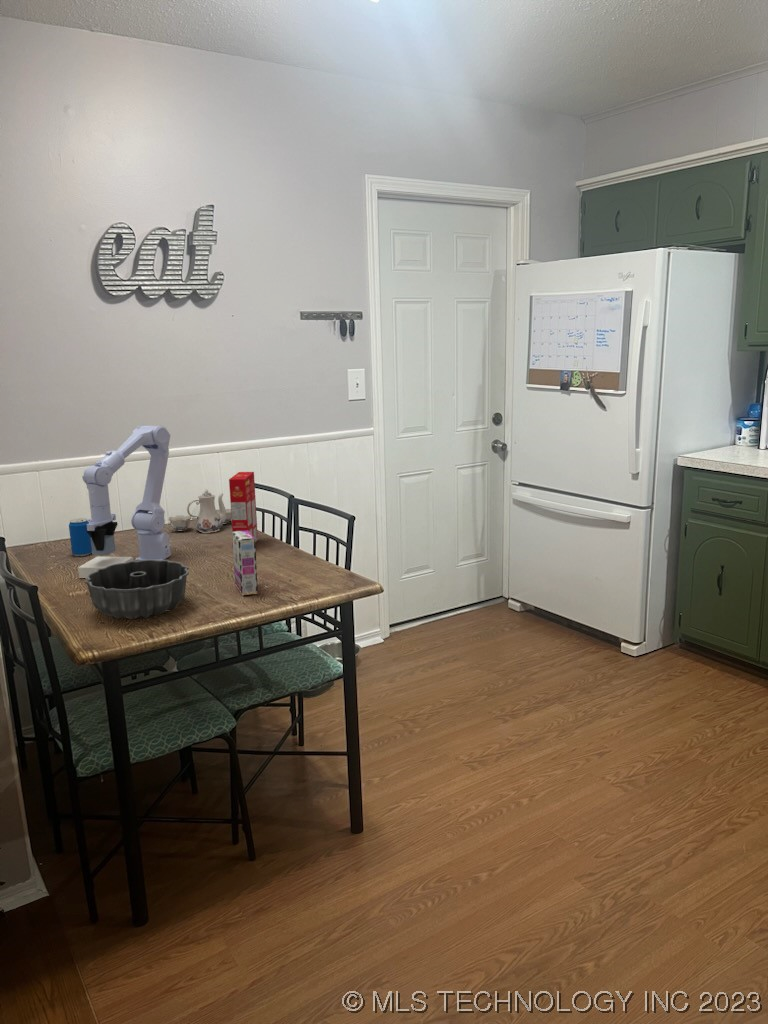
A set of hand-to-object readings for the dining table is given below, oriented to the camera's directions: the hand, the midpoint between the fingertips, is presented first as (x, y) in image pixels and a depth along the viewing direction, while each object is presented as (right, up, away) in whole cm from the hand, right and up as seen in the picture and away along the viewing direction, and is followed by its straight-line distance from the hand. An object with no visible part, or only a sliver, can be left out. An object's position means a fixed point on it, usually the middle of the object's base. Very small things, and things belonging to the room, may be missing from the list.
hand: (104, 547), depth 233 cm
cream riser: (0, -8, +2) cm, 9 cm away
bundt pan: (+21, -15, -30) cm, 40 cm away
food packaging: (+38, -1, +31) cm, 49 cm away
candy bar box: (+47, -11, -17) cm, 51 cm away
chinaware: (+18, +4, +56) cm, 59 cm away
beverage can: (-16, -4, +24) cm, 29 cm away
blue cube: (0, -2, 0) cm, 2 cm away
